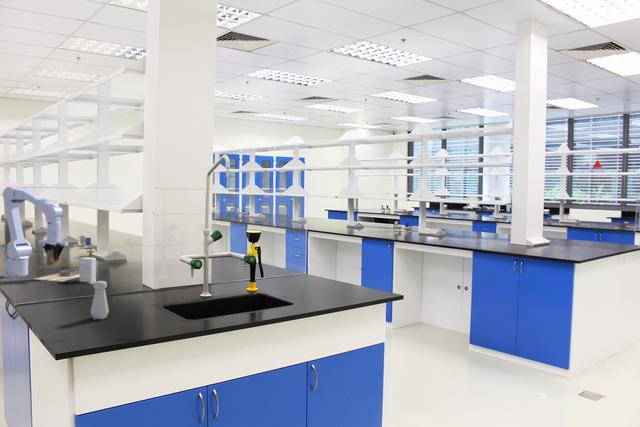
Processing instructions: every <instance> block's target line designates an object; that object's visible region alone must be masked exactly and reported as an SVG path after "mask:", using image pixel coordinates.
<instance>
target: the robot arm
mask: <svg viewBox="0 0 640 427" xmlns="http://www.w3.org/2000/svg"><path fill="white" fill-rule="evenodd" d="M2 198H3V203H4V210H5V214H6V220H7V224H8V229H9V233H10V234H9V235H10V241H9V242H8V243H7V244H6V248H7V250H6V255H7V257H8V259H7V260H6V261H5V265H4V272H5V273H4V275H3V277H4V278H13V277H25V276H28V275H29V259H30V257H31V256H32V254H33V248H32V246H31V244H30V241H29V240H27V239H26V238H25V235H24V231H23V230H24V229H23V226H22V221H21V215H20V210H19V206H21V205H22V204H23V203H24V202H25V201H27V202H29V203H31V204H33V205H34V208H35V209H36V210H38V211H39V212H41V213H42V214H44V217H45V221H46V224H47V225H46V239H40V240H38V245H42V249H43V250H44V252H45V254H46V255H47V250H54V260H55V261H57V260H59V261H60V258H61V254H62V251H63V250H64V248H65V247H68V246H69V241H64V240H61V237H62V236H61V234H62V233H61V232H62V231H61V230H62V229H61V228H62V226H61V225H62V223H61V222H62V218H63V217H64V214H65V210H64V208H63V207H62V206H60V205H58V206H56V205H55V204H54V203H51V202H50V201H49V200H48V199H47V198H39V197H38V196H37V195H35V194H34V193H33V192H31V189H29V188H27V187H25V186H24V187H23V186H22V187H17V186H15V187H11V186H7V187H5V188H4V190H3V192H2Z"/></svg>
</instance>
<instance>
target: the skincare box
mask: <svg viewBox="0 0 640 427" xmlns="http://www.w3.org/2000/svg"><path fill="white" fill-rule="evenodd" d="M79 270H80V277H78V280H79V283H80V282H82V284H84V285H93V284H94V282H96V281H97V258H96V257H80V258H79Z"/></svg>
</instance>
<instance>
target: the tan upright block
mask: <svg viewBox="0 0 640 427" xmlns="http://www.w3.org/2000/svg"><path fill="white" fill-rule="evenodd" d="M58 265H60V259H59V260H57V261H55V260H54V250H47V254H46V266H58Z"/></svg>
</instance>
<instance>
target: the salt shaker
mask: <svg viewBox="0 0 640 427" xmlns="http://www.w3.org/2000/svg"><path fill="white" fill-rule="evenodd" d="M92 285H93V289H94V295H93V299H92V304H91V308H90V314H91V316H92V319H93V320H96V319H100V320H104V318H105V319H107V316H108V314H109V312H110V311H109V310H110V309H109V305H108V300H107V294H106V288H108V287H107V286H108V283H107V281H104V280H96V282H94V283H93V284H92Z"/></svg>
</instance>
